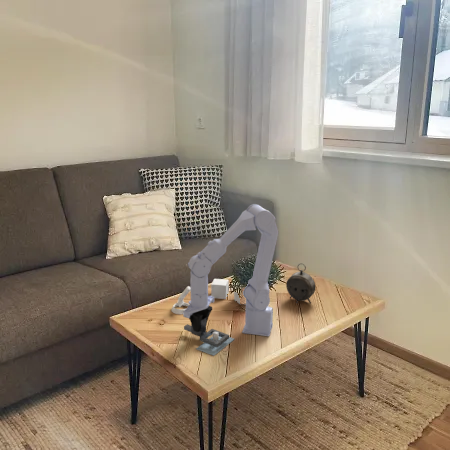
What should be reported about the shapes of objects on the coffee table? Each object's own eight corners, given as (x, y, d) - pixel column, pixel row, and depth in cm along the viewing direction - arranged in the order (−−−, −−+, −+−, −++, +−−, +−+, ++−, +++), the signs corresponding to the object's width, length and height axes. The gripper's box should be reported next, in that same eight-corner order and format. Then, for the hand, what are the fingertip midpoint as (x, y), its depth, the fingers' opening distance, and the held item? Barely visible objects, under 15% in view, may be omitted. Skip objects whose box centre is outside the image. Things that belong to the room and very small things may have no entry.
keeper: (196, 349, 151) (196, 337, 149) (217, 333, 160) (217, 322, 159) (213, 355, 147) (213, 344, 146) (234, 339, 156) (234, 328, 155)
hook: (203, 302, 172) (187, 294, 169) (185, 323, 176) (169, 315, 174) (202, 290, 178) (187, 281, 176) (184, 310, 183) (169, 303, 180)
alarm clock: (315, 302, 184) (317, 264, 179) (309, 307, 179) (312, 268, 175) (289, 296, 189) (291, 258, 185) (283, 301, 185) (285, 262, 180)
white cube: (214, 292, 193) (214, 278, 191) (228, 293, 192) (228, 279, 190) (211, 298, 187) (211, 284, 186) (225, 299, 186) (226, 285, 185)
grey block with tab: (179, 332, 157) (179, 316, 155) (191, 324, 162) (191, 308, 161) (217, 347, 149) (217, 330, 147) (229, 338, 154) (229, 322, 152)
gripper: (202, 281, 160) (202, 317, 164) (175, 296, 148) (176, 334, 152) (219, 286, 156) (219, 322, 160) (193, 301, 145) (193, 340, 148)
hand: (199, 328), depth 156 cm, fingers closed on grey block with tab, 3 cm apart
